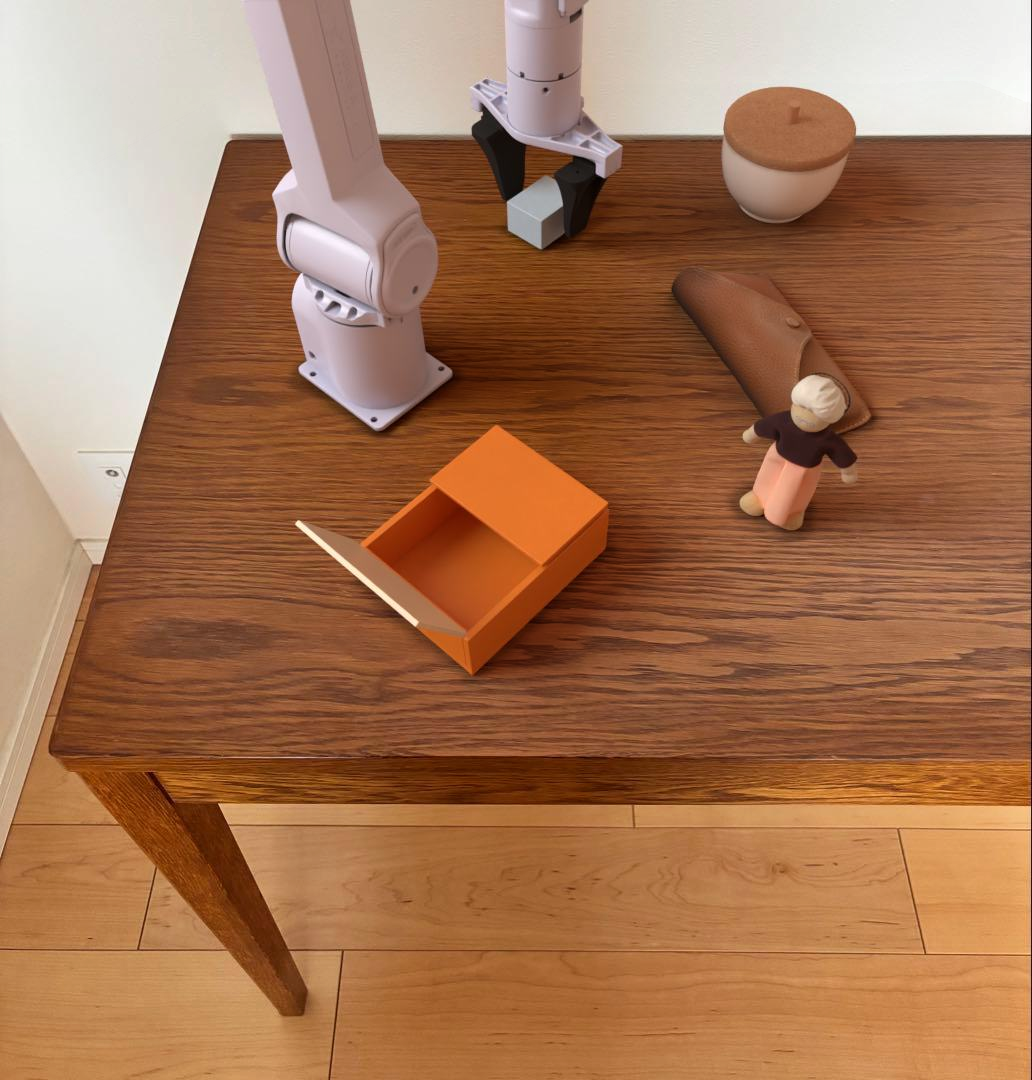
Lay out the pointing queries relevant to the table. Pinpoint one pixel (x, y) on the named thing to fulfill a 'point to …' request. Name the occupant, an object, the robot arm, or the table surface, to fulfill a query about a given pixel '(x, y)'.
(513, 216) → the pale grey cuboid
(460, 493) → the orange flip-lid box
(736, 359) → the sunglasses case
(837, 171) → the trinket box
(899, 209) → the table surface
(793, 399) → the grandmother figurine
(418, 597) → the flap
